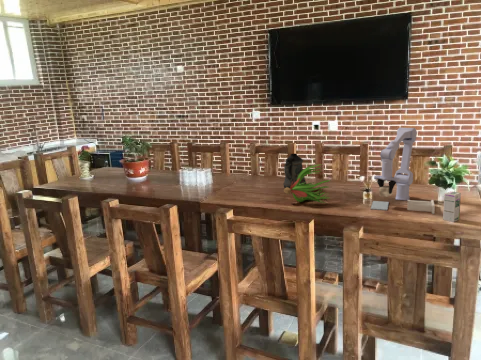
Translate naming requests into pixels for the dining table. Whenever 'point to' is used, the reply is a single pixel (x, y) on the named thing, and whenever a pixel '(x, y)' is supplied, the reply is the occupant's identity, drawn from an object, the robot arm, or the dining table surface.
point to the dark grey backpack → (293, 170)
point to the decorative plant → (306, 187)
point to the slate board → (379, 205)
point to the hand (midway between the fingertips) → (386, 192)
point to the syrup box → (451, 206)
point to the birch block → (384, 191)
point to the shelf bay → (421, 206)
